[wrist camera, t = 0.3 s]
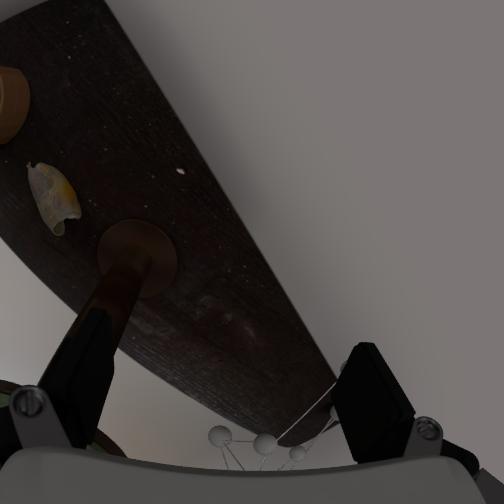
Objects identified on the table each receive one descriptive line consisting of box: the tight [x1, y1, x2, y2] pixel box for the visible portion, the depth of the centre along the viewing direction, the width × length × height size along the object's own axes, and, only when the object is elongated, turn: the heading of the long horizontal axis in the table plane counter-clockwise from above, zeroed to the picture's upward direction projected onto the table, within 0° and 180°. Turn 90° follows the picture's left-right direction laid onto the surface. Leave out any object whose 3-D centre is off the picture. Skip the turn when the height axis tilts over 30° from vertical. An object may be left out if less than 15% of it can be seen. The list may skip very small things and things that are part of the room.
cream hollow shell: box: [27, 162, 82, 236], centre depth 27 cm, size 8×4×5 cm, turn 41°
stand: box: [0, 217, 179, 458], centre depth 21 cm, size 9×9×24 cm
